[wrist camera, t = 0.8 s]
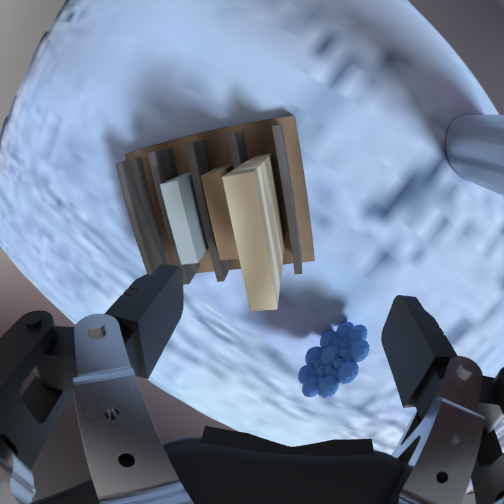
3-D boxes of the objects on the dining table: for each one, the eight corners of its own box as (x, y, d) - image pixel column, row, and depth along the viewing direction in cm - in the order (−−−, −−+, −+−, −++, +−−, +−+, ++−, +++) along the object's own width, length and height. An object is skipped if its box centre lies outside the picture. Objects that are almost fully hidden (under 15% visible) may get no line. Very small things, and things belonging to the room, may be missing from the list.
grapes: (315, 364, 46) (316, 421, 35) (290, 341, 44) (286, 400, 33) (374, 330, 41) (391, 387, 30) (353, 302, 40) (368, 360, 29)
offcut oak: (234, 163, 33) (220, 171, 27) (248, 234, 36) (238, 258, 30) (218, 166, 33) (200, 175, 27) (233, 236, 37) (220, 260, 30)
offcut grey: (199, 170, 34) (177, 180, 28) (214, 239, 37) (198, 262, 31) (184, 173, 34) (159, 184, 28) (200, 241, 38) (181, 264, 31)
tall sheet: (272, 153, 32) (253, 171, 17) (285, 234, 36) (277, 309, 21) (255, 155, 32) (222, 177, 18) (269, 236, 36) (250, 311, 22)
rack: (294, 116, 31) (294, 112, 25) (314, 256, 38) (317, 279, 32) (130, 153, 35) (103, 159, 30) (163, 271, 42) (144, 294, 36)
